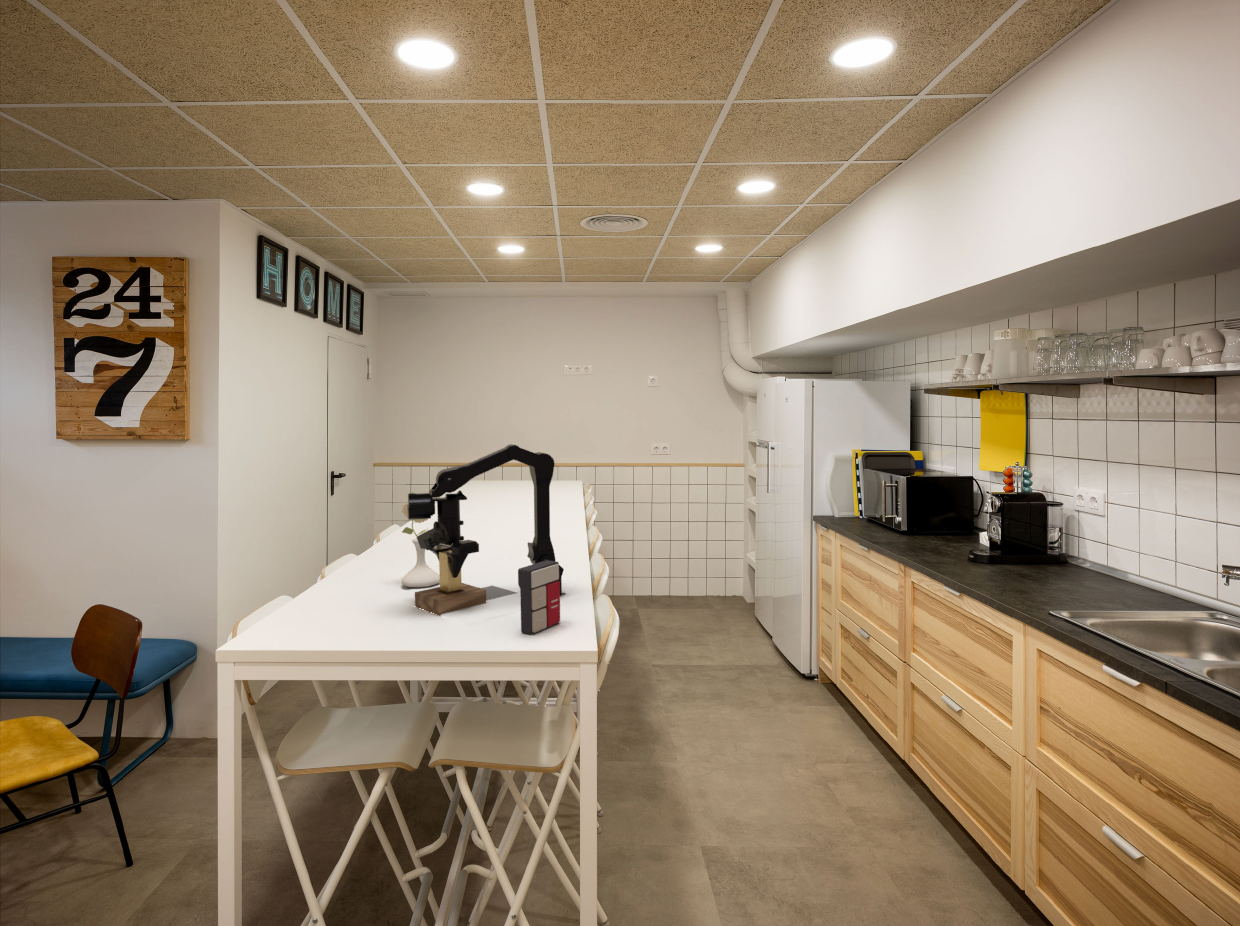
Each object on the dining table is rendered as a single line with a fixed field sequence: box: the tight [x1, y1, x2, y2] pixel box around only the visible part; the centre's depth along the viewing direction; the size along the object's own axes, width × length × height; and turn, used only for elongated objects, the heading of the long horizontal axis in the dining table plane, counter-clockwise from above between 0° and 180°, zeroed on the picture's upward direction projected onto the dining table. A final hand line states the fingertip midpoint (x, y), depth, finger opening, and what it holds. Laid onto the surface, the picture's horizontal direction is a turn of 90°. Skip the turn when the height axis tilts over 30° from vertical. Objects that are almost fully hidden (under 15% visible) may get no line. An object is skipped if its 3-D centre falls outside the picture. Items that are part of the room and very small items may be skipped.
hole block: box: [414, 582, 487, 616], centre depth 181 cm, size 12×14×4 cm
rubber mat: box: [481, 585, 518, 602], centre depth 192 cm, size 12×12×1 cm
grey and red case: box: [517, 560, 561, 635], centre depth 161 cm, size 11×4×15 cm, turn 148°
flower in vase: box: [400, 502, 440, 588], centre depth 202 cm, size 13×11×25 cm
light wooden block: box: [438, 550, 463, 592], centre depth 180 cm, size 4×4×10 cm
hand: (450, 576), depth 180 cm, fingers closed on light wooden block, 4 cm apart
